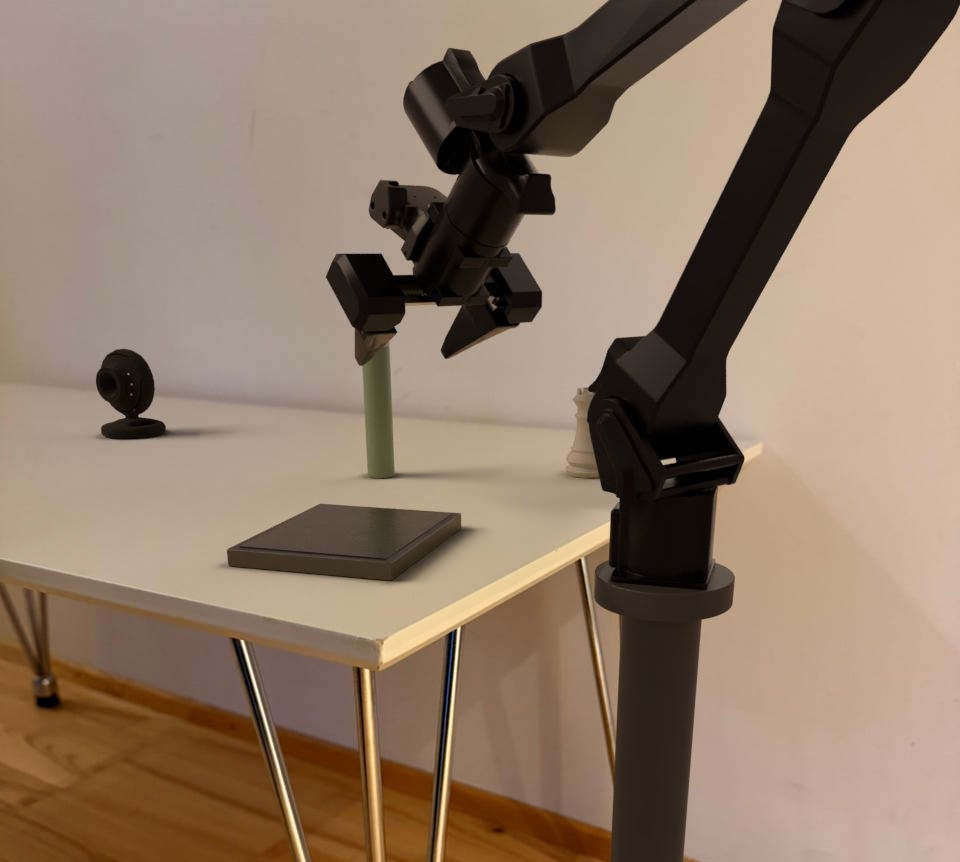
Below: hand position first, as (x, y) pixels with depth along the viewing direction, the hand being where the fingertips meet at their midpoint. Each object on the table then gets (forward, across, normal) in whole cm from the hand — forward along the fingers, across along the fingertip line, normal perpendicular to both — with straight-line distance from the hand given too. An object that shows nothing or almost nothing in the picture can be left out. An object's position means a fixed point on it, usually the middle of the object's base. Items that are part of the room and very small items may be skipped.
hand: (402, 358), depth 88 cm
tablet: (-3, +16, +19) cm, 25 cm away
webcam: (+40, +9, -24) cm, 47 cm away
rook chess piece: (+2, -16, +14) cm, 21 cm away
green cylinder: (+11, 0, +5) cm, 12 cm away
